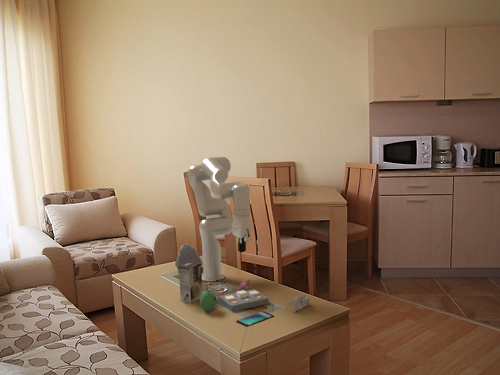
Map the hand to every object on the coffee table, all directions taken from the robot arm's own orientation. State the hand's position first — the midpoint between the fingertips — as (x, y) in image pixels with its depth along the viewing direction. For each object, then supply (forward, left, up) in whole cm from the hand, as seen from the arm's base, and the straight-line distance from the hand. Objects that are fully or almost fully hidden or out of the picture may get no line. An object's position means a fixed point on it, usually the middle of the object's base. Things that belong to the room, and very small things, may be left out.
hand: (242, 251), depth 212 cm
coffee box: (-10, -21, -22) cm, 32 cm away
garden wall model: (+26, +15, -22) cm, 37 cm away
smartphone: (+26, -7, -22) cm, 35 cm away
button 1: (+6, -9, -21) cm, 23 cm away
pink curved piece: (-6, +3, -22) cm, 23 cm away
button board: (+7, -3, -21) cm, 23 cm away
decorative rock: (-54, -6, -22) cm, 59 cm away
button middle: (+6, -3, -20) cm, 21 cm away
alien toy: (+7, -20, -22) cm, 30 cm away
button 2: (+6, +3, -21) cm, 22 cm away
